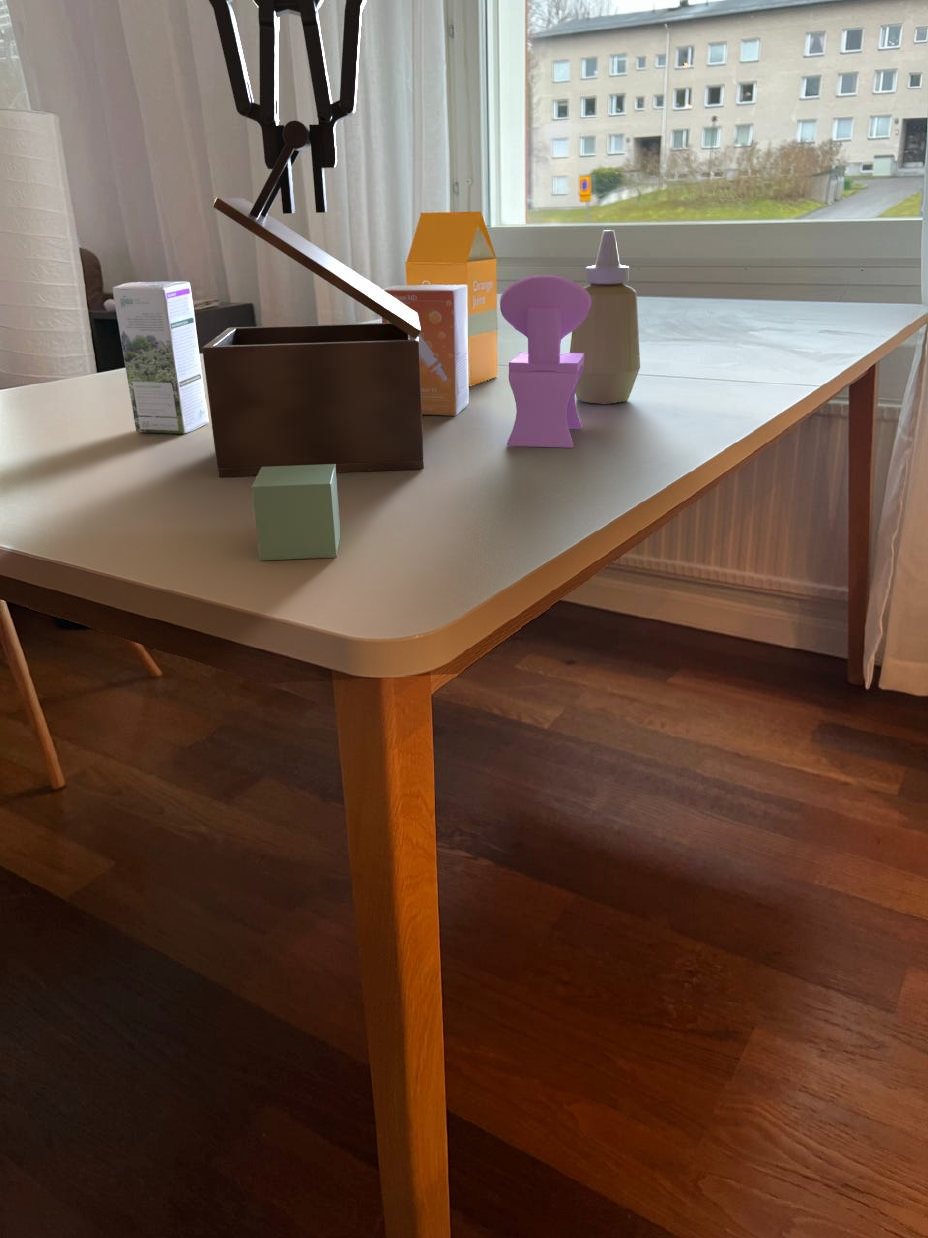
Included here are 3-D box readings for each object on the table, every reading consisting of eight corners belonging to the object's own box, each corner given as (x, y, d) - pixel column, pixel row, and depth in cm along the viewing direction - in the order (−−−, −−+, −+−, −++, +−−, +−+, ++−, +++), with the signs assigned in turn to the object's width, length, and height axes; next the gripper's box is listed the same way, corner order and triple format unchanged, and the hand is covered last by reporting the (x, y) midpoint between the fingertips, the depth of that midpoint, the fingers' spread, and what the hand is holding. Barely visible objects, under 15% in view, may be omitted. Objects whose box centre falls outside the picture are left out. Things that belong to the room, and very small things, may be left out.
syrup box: (210, 422, 103) (192, 279, 97) (184, 435, 97) (162, 284, 92) (162, 421, 104) (141, 280, 98) (133, 433, 99) (109, 284, 93)
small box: (385, 414, 105) (378, 288, 99) (401, 403, 110) (396, 283, 105) (457, 416, 103) (454, 288, 98) (470, 404, 109) (468, 283, 103)
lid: (212, 206, 74) (267, 97, 71) (238, 205, 86) (286, 113, 83) (415, 339, 79) (474, 242, 76) (413, 320, 91) (463, 236, 88)
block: (259, 561, 63) (251, 486, 61) (269, 536, 67) (261, 466, 65) (336, 557, 63) (330, 483, 61) (340, 533, 67) (335, 463, 65)
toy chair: (592, 427, 97) (597, 269, 91) (584, 447, 89) (589, 276, 83) (511, 425, 98) (510, 270, 92) (496, 445, 90) (494, 277, 84)
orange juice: (469, 386, 119) (465, 212, 111) (409, 382, 123) (402, 213, 115) (498, 377, 125) (497, 210, 117) (441, 372, 129) (435, 211, 121)
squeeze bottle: (556, 396, 112) (558, 230, 105) (618, 391, 114) (625, 228, 107) (585, 409, 105) (590, 232, 98) (651, 403, 107) (661, 229, 100)
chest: (218, 477, 82) (201, 347, 78) (241, 441, 95) (228, 327, 90) (423, 469, 83) (418, 340, 79) (420, 434, 95) (415, 321, 91)
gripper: (379, -118, 75) (395, 210, 84) (184, -117, 74) (222, 214, 84) (378, -150, 68) (395, 210, 78) (163, -149, 67) (206, 215, 77)
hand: (305, 212), depth 81 cm, fingers closed on lid, 2 cm apart
